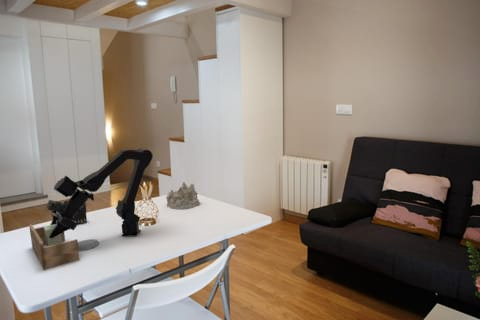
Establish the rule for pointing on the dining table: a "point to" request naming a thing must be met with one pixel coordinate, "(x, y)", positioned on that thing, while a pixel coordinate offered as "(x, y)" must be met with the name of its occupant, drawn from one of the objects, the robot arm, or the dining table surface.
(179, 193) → the miniature castle
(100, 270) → the dining table surface
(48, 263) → the open box
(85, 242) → the grey mat
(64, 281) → the dining table surface
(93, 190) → the robot arm
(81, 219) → the battery charger
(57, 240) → the block
